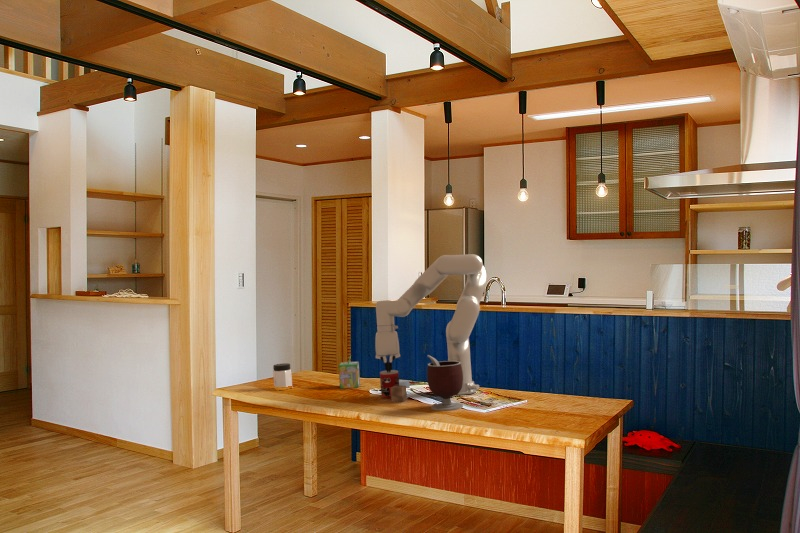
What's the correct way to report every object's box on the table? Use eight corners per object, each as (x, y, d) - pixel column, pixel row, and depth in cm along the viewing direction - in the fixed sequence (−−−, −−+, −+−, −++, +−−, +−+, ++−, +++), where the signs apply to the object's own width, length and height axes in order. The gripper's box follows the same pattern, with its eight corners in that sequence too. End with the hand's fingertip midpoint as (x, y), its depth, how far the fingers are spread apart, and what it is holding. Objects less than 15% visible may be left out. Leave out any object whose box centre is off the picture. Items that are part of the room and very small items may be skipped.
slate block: (409, 391, 298) (409, 380, 298) (399, 394, 295) (398, 382, 295) (401, 390, 303) (400, 379, 303) (391, 392, 299) (390, 381, 299)
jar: (272, 389, 330) (270, 364, 330) (288, 386, 334) (286, 362, 334) (278, 391, 322) (276, 366, 322) (294, 389, 326) (292, 364, 326)
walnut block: (407, 399, 280) (406, 385, 280) (403, 402, 276) (402, 387, 276) (395, 399, 282) (394, 385, 282) (391, 402, 277) (390, 387, 277)
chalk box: (341, 385, 326) (339, 355, 326) (360, 384, 326) (358, 354, 326) (339, 389, 317) (337, 358, 317) (358, 388, 316) (356, 356, 316)
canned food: (378, 396, 291) (377, 371, 291) (395, 394, 294) (393, 369, 294) (385, 399, 284) (384, 373, 284) (402, 396, 287) (401, 371, 287)
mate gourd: (472, 405, 260) (468, 354, 260) (448, 412, 250) (445, 359, 250) (442, 401, 271) (439, 352, 271) (418, 408, 261) (415, 357, 261)
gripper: (403, 327, 293) (406, 369, 293) (369, 329, 293) (372, 371, 293) (403, 328, 285) (405, 371, 285) (368, 331, 286) (371, 373, 285)
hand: (388, 371), depth 289 cm, fingers closed
